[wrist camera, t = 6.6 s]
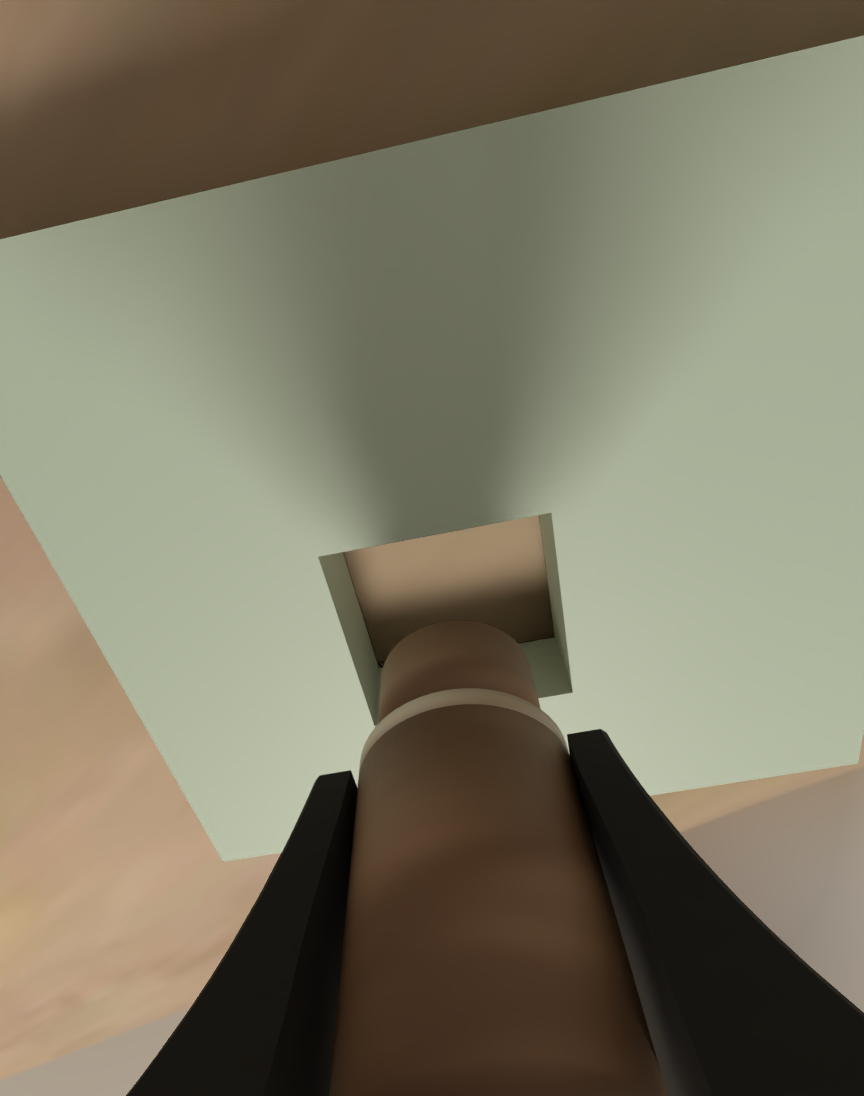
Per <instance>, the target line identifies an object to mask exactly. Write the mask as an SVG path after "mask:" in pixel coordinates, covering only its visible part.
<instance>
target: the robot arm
mask: <svg viewBox="0 0 864 1096" xmlns="http://www.w3.org/2000/svg"><path fill="white" fill-rule="evenodd" d="M567 739H568V746H569V754H570V759H571V763H572V766H573V770H574V773H575V777H576V780H577V784H578V787H579V791H580V794H581V798H582V801H583V805H584V808H585V811H586V814H587V817H588V821H589V824H590V828H591V831H592V835H593V838H594V841H595V845H596V848H597V852H598V855H599V859H600V862H601V866H602V869H603V873H604V876H605V880H606V883H607V887H608V890H609V894H610V897H611V901H612V904H613V907H614V911H615V914H616V918H617V921H618V925H619V928H620V932H621V935H622V939H623V942H624V946H625V949H626V953H627V956H628V960H629V963H630V966H631V970H632V973H633V977H634V980H635V984H636V987H637V991H638V994H639V998H640V1001H641V1005H642V1008H643V1012H644V1015H645V1019H646V1022H647V1025H648V1029H649V1032H650V1036H651V1039H652V1043H653V1046H654V1050H655V1053H656V1057H657V1060H658V1064H659V1067H660V1071H661V1074H662V1078H663V1081H664V1085H665V1088H666V1091H667V1095H668V1096H864V1013H863V1012H862V1011H861V1010H860V1009H859V1008H857V1007H856V1006H855V1005H854V1004H853V1003H852V1002H850V1001H849V1000H848V999H847V998H846V997H845V996H844V995H842V994H841V993H840V992H839V991H838V990H837V989H835V988H834V987H833V986H832V985H831V984H830V983H828V982H827V981H826V980H825V979H824V978H823V977H821V976H820V975H819V974H818V973H817V972H816V971H815V970H813V969H812V968H811V967H810V966H809V965H808V964H807V963H806V962H804V961H803V960H802V959H801V958H800V957H799V956H798V955H797V954H796V953H795V952H794V951H793V950H792V949H791V948H789V947H788V946H787V945H786V944H785V943H784V942H783V941H782V940H781V939H780V938H779V937H778V936H777V935H776V934H774V933H773V932H772V931H771V930H770V929H769V928H768V927H767V926H766V925H765V924H764V923H763V922H762V921H761V920H760V919H759V918H758V917H757V916H756V915H755V914H754V913H753V912H752V911H751V910H750V909H749V908H748V907H747V906H746V905H745V904H744V903H743V902H742V901H741V900H740V899H739V898H738V897H737V896H736V895H735V894H734V893H733V892H732V891H731V890H730V889H729V887H728V886H727V885H726V884H725V883H724V882H723V881H722V880H721V879H720V878H719V877H718V876H717V875H716V874H715V873H714V871H712V869H711V868H710V867H709V866H708V865H707V864H706V863H705V861H704V860H703V859H702V858H701V857H700V856H699V855H698V854H697V853H696V851H695V850H694V849H693V848H692V847H691V846H690V845H689V843H688V842H687V841H686V840H685V839H684V838H683V836H682V835H681V834H680V833H679V832H678V830H677V829H676V828H675V827H674V825H673V824H672V823H671V822H670V821H669V819H668V818H667V817H666V816H665V814H664V813H663V812H662V811H661V810H660V808H659V807H658V806H657V805H656V803H655V802H654V801H653V800H652V798H651V797H650V796H649V794H648V793H647V792H646V790H645V789H644V788H643V786H642V785H641V784H640V782H639V781H638V780H637V778H636V777H635V775H634V774H633V773H632V771H631V770H630V768H629V767H628V766H627V764H626V763H625V761H624V760H623V758H622V757H621V755H620V754H619V752H618V750H617V749H616V747H615V746H614V744H613V742H612V741H611V739H610V737H609V736H608V734H607V732H605V731H603V730H602V729H596V730H590V731H584V732H578V733H572V734H567ZM357 789H358V788H357V785H356V783H355V780H354V777H353V775H352V772H351V770H349V771H343V772H337V773H331V774H325V775H319V777H318V778H317V779H316V780H315V783H314V785H313V787H312V789H311V792H310V794H309V796H308V798H307V800H306V803H305V805H304V807H303V809H302V811H301V814H300V816H299V818H298V820H297V822H296V824H295V826H294V828H293V830H292V833H291V835H290V837H289V839H288V841H287V843H286V845H285V847H284V849H283V851H282V853H281V855H280V857H279V859H278V861H277V863H276V864H275V866H274V868H273V870H272V872H271V874H270V876H269V878H268V880H267V882H266V884H265V886H264V888H263V890H262V891H261V893H260V895H259V897H258V899H257V900H256V902H255V904H254V906H253V907H252V909H251V911H250V913H249V914H248V916H247V918H246V920H245V921H244V923H243V925H242V927H241V928H240V930H239V932H238V934H237V935H236V937H235V939H234V941H233V942H232V944H231V946H230V947H229V949H228V951H227V952H226V954H225V955H224V957H223V959H222V960H221V962H220V963H219V965H218V967H217V968H216V970H215V971H214V973H213V975H212V976H211V978H210V979H209V981H208V982H207V984H206V985H205V987H204V988H203V990H202V991H201V993H200V994H199V996H198V997H197V999H196V1000H195V1002H194V1003H193V1005H192V1006H191V1008H190V1009H189V1011H188V1012H187V1014H186V1015H185V1017H184V1018H183V1019H182V1021H181V1022H180V1024H179V1025H178V1026H177V1028H176V1029H175V1031H174V1032H173V1034H172V1035H171V1036H170V1038H169V1039H168V1040H167V1042H166V1043H165V1045H164V1046H163V1048H162V1049H161V1050H160V1052H159V1053H158V1055H157V1056H156V1057H155V1059H154V1060H153V1061H152V1063H151V1064H150V1065H149V1067H148V1068H147V1069H146V1071H145V1072H144V1073H143V1075H142V1076H141V1077H140V1079H139V1080H138V1081H137V1082H136V1084H135V1085H134V1087H133V1088H132V1089H131V1090H130V1091H129V1093H128V1094H127V1095H126V1096H329V1092H330V1081H331V1070H332V1060H333V1049H334V1038H335V1027H336V1016H337V1005H338V995H339V984H340V973H341V962H342V951H343V940H344V929H345V919H346V908H347V897H348V886H349V875H350V864H351V854H352V843H353V832H354V821H355V810H356V799H357Z"/></svg>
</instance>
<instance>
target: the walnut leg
mask: <svg viewBox="0 0 864 1096" xmlns="http://www.w3.org/2000/svg"><path fill="white" fill-rule="evenodd" d="M329 1096H668V1095H667V1091H666V1088H665V1085H664V1081H663V1078H662V1074H661V1071H660V1067H659V1064H658V1060H657V1057H656V1053H655V1050H654V1046H653V1043H652V1039H651V1036H650V1032H649V1029H648V1025H647V1022H646V1019H645V1015H644V1012H643V1008H642V1005H641V1001H640V998H639V994H638V991H637V987H636V984H635V980H634V977H633V973H632V970H631V966H630V963H629V960H628V956H627V953H626V949H625V946H624V942H623V939H622V935H621V932H620V928H619V925H618V921H617V918H616V914H615V911H614V907H613V904H612V901H611V897H610V894H609V890H608V887H607V883H606V880H605V876H604V873H603V869H602V866H601V862H600V859H599V855H598V852H597V848H596V845H595V841H594V838H593V835H592V831H591V828H590V824H589V821H588V817H587V814H586V811H585V808H584V805H583V801H582V798H581V794H580V791H579V787H578V784H577V780H576V777H575V773H574V770H573V766H572V763H571V759H570V755H569V751H568V748H567V744H566V742H565V739H564V736H563V734H562V732H561V731H560V729H559V727H558V726H557V724H556V723H555V722H554V721H553V720H552V719H551V718H550V716H548V715H547V714H546V713H545V712H544V711H542V710H541V708H540V704H539V700H538V696H537V692H536V688H535V684H534V680H533V677H532V673H531V669H530V665H529V661H528V659H527V656H526V654H525V653H524V651H523V649H522V648H521V647H520V645H519V644H518V643H517V642H516V641H515V640H514V639H513V638H512V637H510V636H509V635H508V634H506V633H505V632H503V631H502V630H499V629H497V628H495V627H493V626H490V625H488V624H485V623H480V622H476V621H468V620H450V621H442V622H438V623H433V624H430V625H427V626H424V627H422V628H420V629H418V630H416V631H414V632H412V633H411V634H409V635H407V636H406V637H405V638H404V639H402V640H401V641H400V642H399V643H398V644H397V645H396V646H395V647H394V648H393V650H392V651H391V652H390V654H389V655H388V657H387V659H386V661H385V663H384V666H383V669H382V675H381V688H380V703H379V719H378V725H377V726H376V727H375V728H374V730H373V731H372V732H371V734H370V735H369V737H368V739H367V740H366V742H365V744H364V747H363V750H362V753H361V759H360V767H359V778H358V789H357V799H356V810H355V821H354V832H353V843H352V854H351V864H350V875H349V886H348V897H347V908H346V919H345V929H344V940H343V951H342V962H341V973H340V984H339V995H338V1005H337V1016H336V1027H335V1038H334V1049H333V1060H332V1070H331V1081H330V1092H329Z"/></svg>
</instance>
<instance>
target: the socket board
mask: <svg viewBox="0 0 864 1096" xmlns="http://www.w3.org/2000/svg"><path fill="white" fill-rule="evenodd" d="M0 475H1V477H2V479H3V481H4V482H5V484H6V486H7V488H8V489H9V491H10V493H11V495H12V496H13V498H14V500H15V502H16V503H17V505H18V507H19V508H20V510H21V512H22V514H23V515H24V517H25V519H26V521H27V522H28V524H29V526H30V528H31V529H32V531H33V533H34V534H35V536H36V538H37V540H38V541H39V543H40V545H41V547H42V548H43V550H44V552H45V554H46V555H47V557H48V559H49V561H50V562H51V564H52V566H53V567H54V569H55V571H56V573H57V574H58V576H59V578H60V580H61V581H62V583H63V585H64V587H65V588H66V590H67V592H68V593H69V595H70V597H71V599H72V600H73V602H74V604H75V606H76V607H77V609H78V611H79V613H80V614H81V616H82V618H83V619H84V621H85V623H86V625H87V626H88V628H89V630H90V632H91V633H92V635H93V637H94V639H95V640H96V642H97V644H98V646H99V647H100V649H101V651H102V652H103V654H104V656H105V658H106V659H107V661H108V663H109V665H110V666H111V668H112V670H113V672H114V673H115V675H116V677H117V678H118V680H119V682H120V684H121V685H122V687H123V689H124V691H125V692H126V694H127V696H128V698H129V699H130V701H131V703H132V705H133V706H134V708H135V710H136V711H137V713H138V715H139V717H140V718H141V720H142V722H143V724H144V725H145V727H146V729H147V731H148V732H149V734H150V736H151V737H152V739H153V741H154V743H155V744H156V746H157V748H158V750H159V751H160V753H161V755H162V757H163V758H164V760H165V762H166V764H167V765H168V767H169V769H170V770H171V772H172V774H173V776H174V777H175V779H176V781H177V783H178V784H179V786H180V788H181V790H182V791H183V793H184V795H185V796H186V798H187V800H188V802H189V803H190V805H191V807H192V809H193V810H194V812H195V814H196V816H197V817H198V819H199V821H200V823H201V824H202V826H203V828H204V829H205V831H206V833H207V835H208V836H209V838H210V840H211V842H212V843H213V845H214V847H215V849H216V850H217V852H218V854H219V855H220V857H221V859H222V861H223V862H224V861H231V860H237V859H244V858H250V857H257V856H263V855H269V854H276V853H282V851H283V849H284V847H285V845H286V843H287V841H288V839H289V837H290V835H291V833H292V830H293V828H294V826H295V824H296V822H297V820H298V818H299V816H300V814H301V811H302V809H303V807H304V805H305V803H306V800H307V798H308V796H309V794H310V792H311V789H312V787H313V785H314V783H315V780H316V779H317V778H318V777H319V775H325V774H331V773H337V772H343V771H349V770H351V772H352V775H353V777H354V780H355V783H356V785H357V788H358V778H359V767H360V759H361V753H362V750H363V747H364V744H365V742H366V740H367V739H368V737H369V735H370V734H371V732H372V731H373V730H374V728H375V727H376V726H377V725H378V719H379V703H380V688H381V675H382V669H383V668H379V667H378V664H377V661H376V658H375V655H374V651H373V648H372V645H371V642H370V638H369V635H368V632H367V629H366V626H365V622H364V619H363V616H362V613H361V609H360V606H359V603H358V600H357V596H356V593H355V590H354V587H353V584H352V580H351V577H350V574H349V571H348V567H347V564H346V561H345V558H344V554H343V552H346V551H351V550H357V549H362V548H367V547H373V546H378V545H383V544H388V543H394V542H399V541H404V540H410V539H415V538H420V537H425V536H431V535H436V534H441V533H447V532H452V531H457V530H462V529H468V528H473V527H478V526H483V525H489V524H494V523H499V522H505V521H510V520H515V519H520V518H526V517H531V516H536V515H539V520H540V527H541V535H542V543H543V551H544V558H545V566H546V574H547V581H548V589H549V597H550V604H551V612H552V620H553V628H554V635H555V637H554V638H548V639H543V640H537V641H531V642H526V643H520V644H519V645H520V647H521V648H522V649H523V651H524V653H525V654H526V656H527V659H528V661H529V665H530V669H531V673H532V677H533V680H534V684H535V688H536V692H537V696H538V700H539V704H540V708H541V710H542V711H544V712H545V713H546V714H547V715H548V716H550V718H551V719H552V720H553V721H554V722H555V723H556V724H557V726H558V727H559V729H560V731H561V732H562V734H563V736H564V739H565V742H566V744H567V748H568V751H569V746H568V739H567V734H572V733H578V732H584V731H590V730H596V729H602V730H603V731H605V732H607V734H608V736H609V737H610V739H611V741H612V742H613V744H614V746H615V747H616V749H617V750H618V752H619V754H620V755H621V757H622V758H623V760H624V761H625V763H626V764H627V766H628V767H629V768H630V770H631V771H632V773H633V774H634V775H635V777H636V778H637V780H638V781H639V782H640V784H641V785H642V786H643V788H644V789H645V790H646V792H647V793H648V794H649V796H651V795H657V794H664V793H670V792H676V791H683V790H689V789H696V788H702V787H709V786H715V785H722V784H728V783H735V782H741V781H748V780H754V779H760V778H767V777H773V776H780V775H786V774H793V773H799V772H806V771H812V770H819V769H825V768H832V767H838V766H844V765H851V764H857V763H858V760H859V754H860V749H861V744H862V738H863V733H864V35H863V36H859V37H855V38H850V39H846V40H842V41H838V42H834V43H829V44H825V45H821V46H817V47H812V48H808V49H804V50H800V51H795V52H791V53H787V54H783V55H778V56H774V57H770V58H766V59H762V60H757V61H753V62H749V63H745V64H740V65H736V66H732V67H728V68H723V69H719V70H715V71H711V72H706V73H702V74H698V75H694V76H690V77H685V78H681V79H677V80H673V81H668V82H664V83H660V84H656V85H651V86H647V87H643V88H639V89H635V90H630V91H626V92H622V93H618V94H613V95H609V96H605V97H601V98H596V99H592V100H588V101H584V102H579V103H575V104H571V105H567V106H563V107H558V108H554V109H550V110H546V111H541V112H537V113H533V114H529V115H524V116H520V117H516V118H512V119H508V120H503V121H499V122H495V123H491V124H486V125H482V126H478V127H474V128H469V129H465V130H461V131H457V132H452V133H448V134H444V135H440V136H436V137H431V138H427V139H423V140H419V141H414V142H410V143H406V144H402V145H397V146H393V147H389V148H385V149H380V150H376V151H372V152H368V153H364V154H359V155H355V156H351V157H347V158H342V159H338V160H334V161H330V162H325V163H321V164H317V165H313V166H309V167H304V168H300V169H296V170H292V171H287V172H283V173H279V174H275V175H270V176H266V177H262V178H258V179H253V180H249V181H245V182H241V183H237V184H232V185H228V186H224V187H220V188H215V189H211V190H207V191H203V192H198V193H194V194H190V195H186V196H181V197H177V198H173V199H169V200H165V201H160V202H156V203H152V204H148V205H143V206H139V207H135V208H131V209H126V210H122V211H118V212H114V213H110V214H105V215H101V216H97V217H93V218H88V219H84V220H80V221H76V222H71V223H67V224H63V225H59V226H54V227H50V228H46V229H42V230H38V231H33V232H29V233H25V234H21V235H16V236H12V237H8V238H4V239H0ZM569 755H570V754H569Z"/></svg>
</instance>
